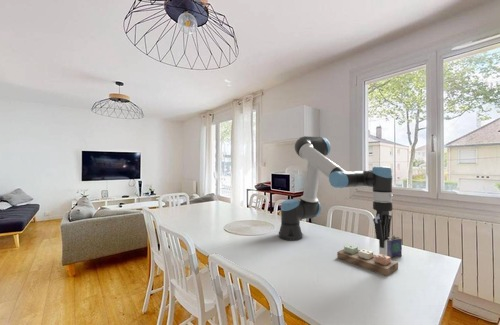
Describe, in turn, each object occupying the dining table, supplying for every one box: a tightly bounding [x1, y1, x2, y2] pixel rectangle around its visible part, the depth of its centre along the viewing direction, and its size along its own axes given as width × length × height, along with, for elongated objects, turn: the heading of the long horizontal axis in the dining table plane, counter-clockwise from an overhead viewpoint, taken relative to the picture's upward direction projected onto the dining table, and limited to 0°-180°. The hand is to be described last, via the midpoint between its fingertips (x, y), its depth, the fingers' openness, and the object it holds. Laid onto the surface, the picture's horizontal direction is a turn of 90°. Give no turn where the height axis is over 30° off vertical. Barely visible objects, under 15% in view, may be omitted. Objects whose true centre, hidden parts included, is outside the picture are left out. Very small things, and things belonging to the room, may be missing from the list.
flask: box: [386, 234, 403, 259], centre depth 116 cm, size 9×3×11 cm, turn 109°
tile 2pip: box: [359, 248, 374, 260], centre depth 108 cm, size 4×4×3 cm
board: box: [336, 248, 399, 277], centre depth 108 cm, size 23×11×3 cm, turn 36°
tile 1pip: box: [343, 244, 359, 254], centre depth 114 cm, size 4×4×3 cm
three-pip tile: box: [375, 253, 392, 265], centre depth 102 cm, size 4×4×3 cm
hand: (383, 254), depth 102 cm, fingers closed
